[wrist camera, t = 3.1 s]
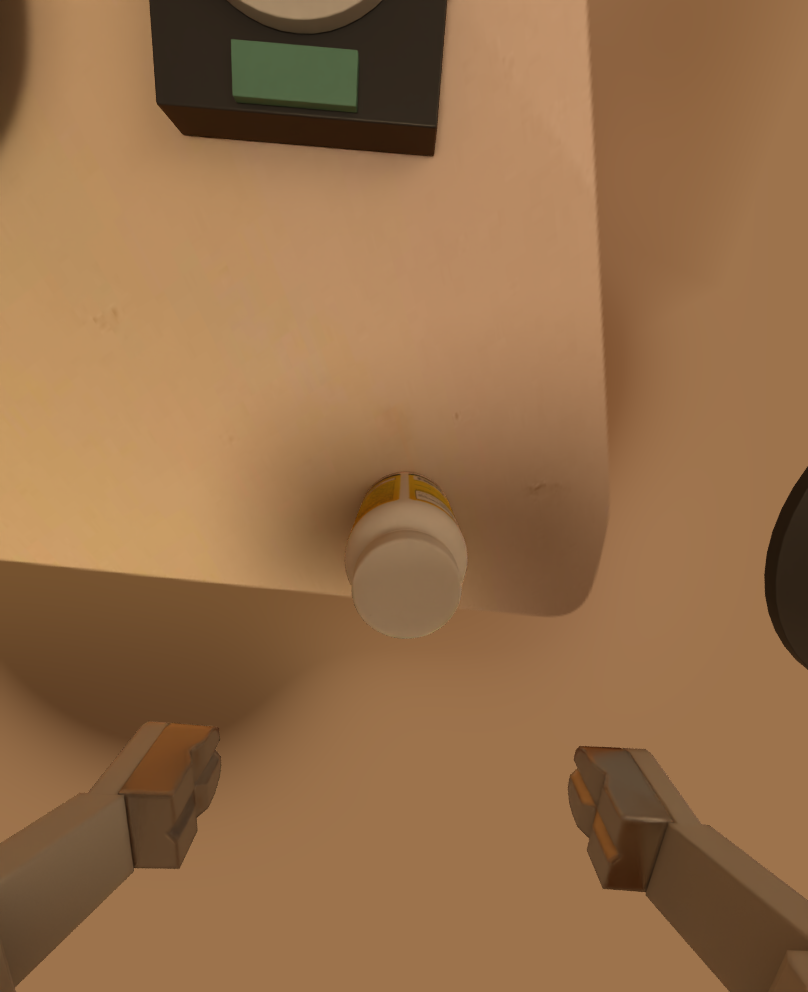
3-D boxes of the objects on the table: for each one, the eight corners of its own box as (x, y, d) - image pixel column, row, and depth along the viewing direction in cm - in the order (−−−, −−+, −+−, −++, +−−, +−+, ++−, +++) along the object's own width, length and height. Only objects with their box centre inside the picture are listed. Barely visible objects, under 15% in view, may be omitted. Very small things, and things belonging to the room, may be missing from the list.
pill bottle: (363, 556, 28) (336, 657, 17) (358, 471, 26) (325, 523, 15) (450, 554, 28) (478, 654, 17) (450, 469, 26) (481, 519, 15)
